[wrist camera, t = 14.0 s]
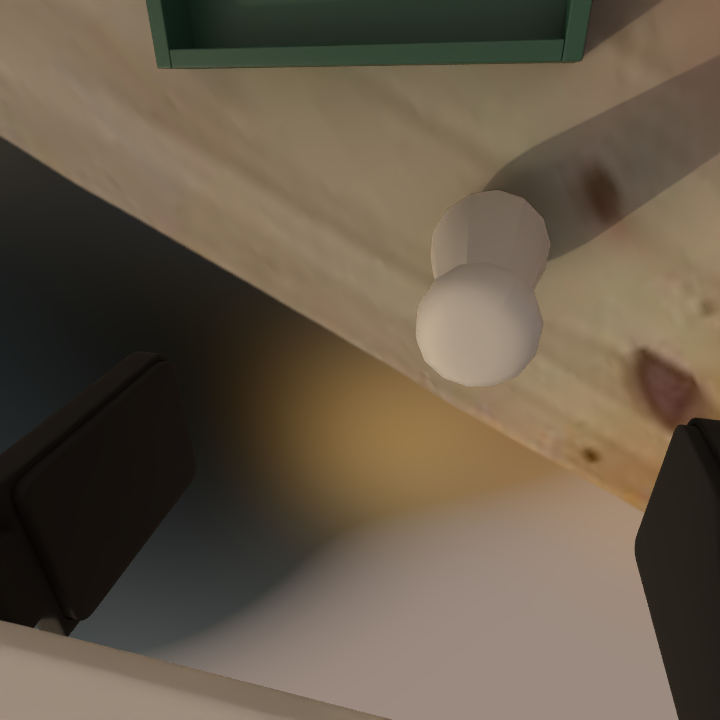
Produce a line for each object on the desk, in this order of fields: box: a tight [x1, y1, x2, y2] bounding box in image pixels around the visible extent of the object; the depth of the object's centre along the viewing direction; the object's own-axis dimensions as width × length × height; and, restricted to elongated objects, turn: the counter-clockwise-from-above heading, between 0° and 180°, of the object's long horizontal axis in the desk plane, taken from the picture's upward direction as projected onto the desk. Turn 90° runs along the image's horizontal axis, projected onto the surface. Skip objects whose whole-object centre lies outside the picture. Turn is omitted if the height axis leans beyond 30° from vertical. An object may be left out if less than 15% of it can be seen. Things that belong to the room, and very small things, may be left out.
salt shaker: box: [416, 190, 551, 387], centre depth 23 cm, size 6×6×13 cm
